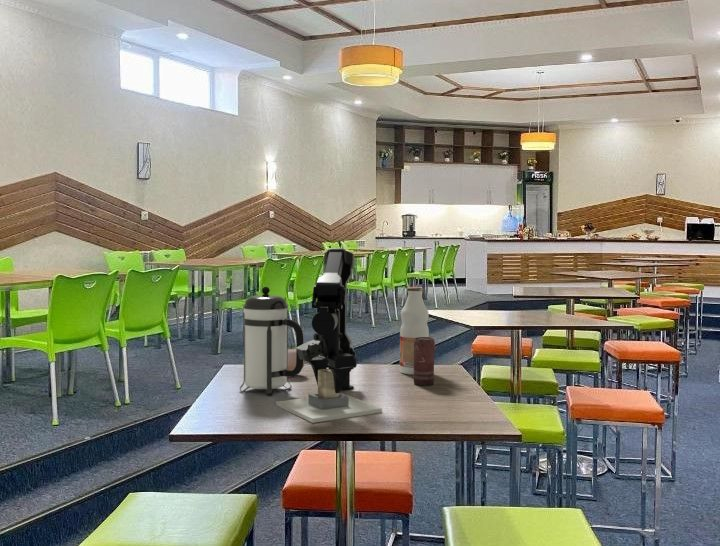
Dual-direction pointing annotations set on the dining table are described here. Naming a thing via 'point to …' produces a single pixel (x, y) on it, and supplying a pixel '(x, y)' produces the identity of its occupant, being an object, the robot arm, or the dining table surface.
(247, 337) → the coffee press
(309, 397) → the square socket
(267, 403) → the dining table surface
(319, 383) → the square peg
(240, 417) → the dining table surface
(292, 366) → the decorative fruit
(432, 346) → the can
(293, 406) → the socket board
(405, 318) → the fruit juice
